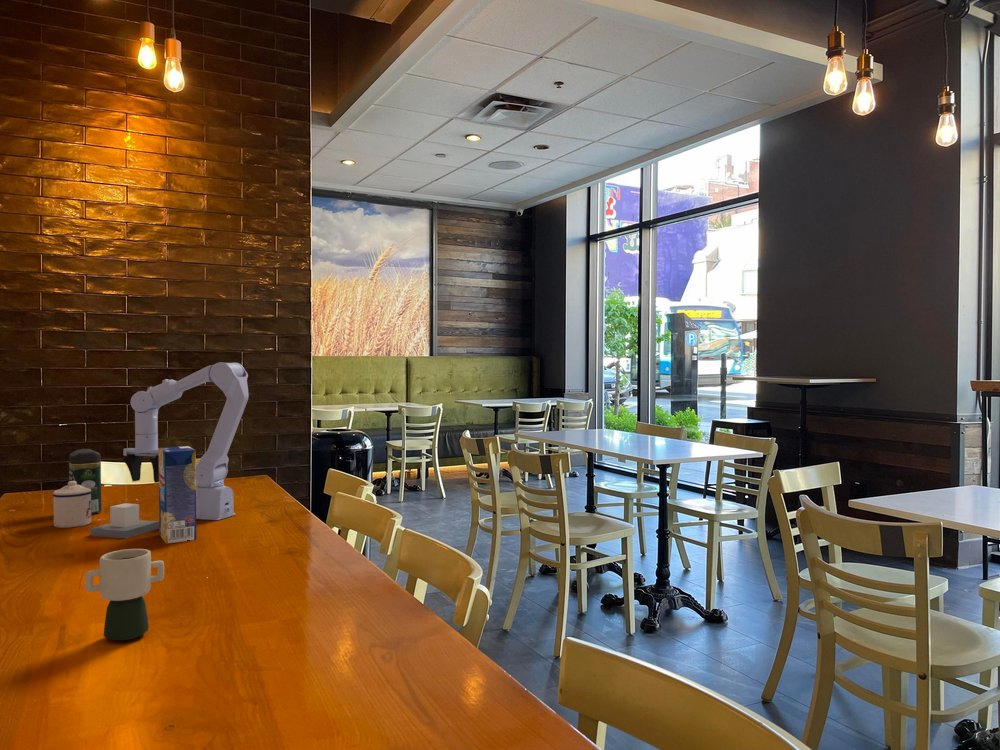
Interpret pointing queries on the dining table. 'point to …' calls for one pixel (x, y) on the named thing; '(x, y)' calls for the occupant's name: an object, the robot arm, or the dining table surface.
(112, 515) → the cream cube
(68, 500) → the teacup with lid
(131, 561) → the character mug
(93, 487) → the coffee jar
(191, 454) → the beverage box
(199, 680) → the dining table surface
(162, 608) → the dining table surface
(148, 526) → the slate block
